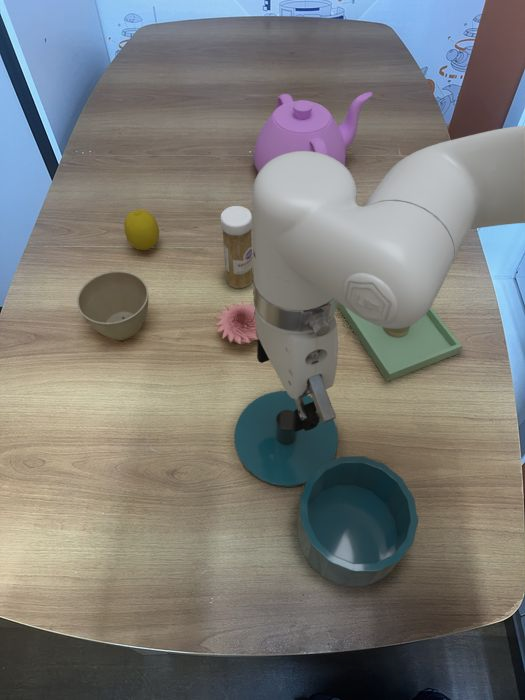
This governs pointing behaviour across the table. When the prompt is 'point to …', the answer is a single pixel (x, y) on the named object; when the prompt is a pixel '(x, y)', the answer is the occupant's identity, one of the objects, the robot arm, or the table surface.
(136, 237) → the lemon
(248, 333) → the flower
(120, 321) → the bowl
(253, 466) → the pot lid
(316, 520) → the pot
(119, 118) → the table surface
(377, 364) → the tray
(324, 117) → the teapot
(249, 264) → the sprinkles bottle
